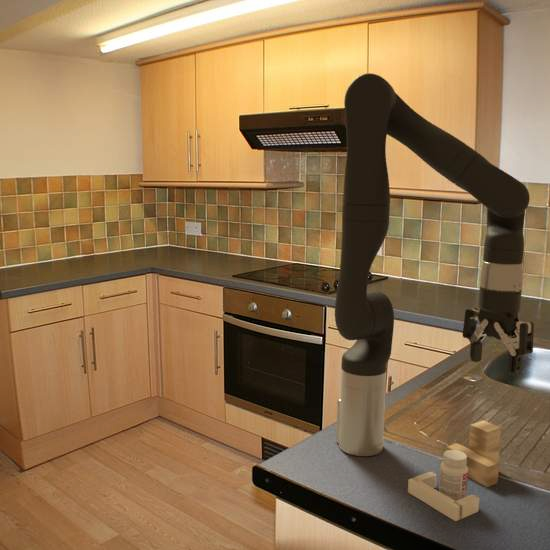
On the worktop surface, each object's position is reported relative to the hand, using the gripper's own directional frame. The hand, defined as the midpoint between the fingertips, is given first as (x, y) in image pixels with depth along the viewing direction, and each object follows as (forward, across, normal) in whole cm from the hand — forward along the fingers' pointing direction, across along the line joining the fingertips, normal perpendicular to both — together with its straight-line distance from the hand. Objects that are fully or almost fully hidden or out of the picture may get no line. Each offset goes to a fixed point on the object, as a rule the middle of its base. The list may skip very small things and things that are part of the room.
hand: (494, 367), depth 117 cm
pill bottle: (+20, +5, -16) cm, 26 cm away
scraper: (+20, +1, -4) cm, 21 cm away
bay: (+20, +5, -18) cm, 28 cm away
